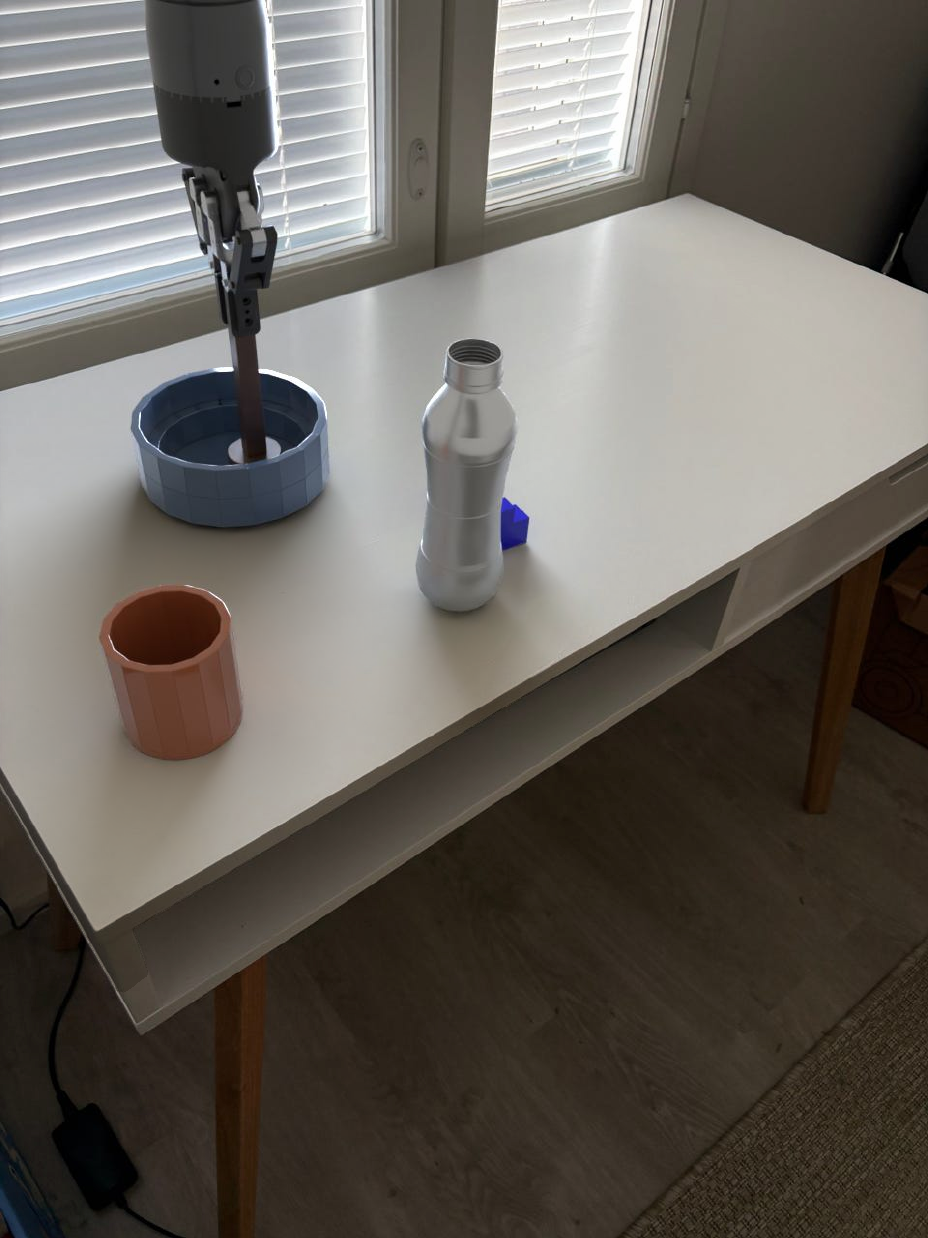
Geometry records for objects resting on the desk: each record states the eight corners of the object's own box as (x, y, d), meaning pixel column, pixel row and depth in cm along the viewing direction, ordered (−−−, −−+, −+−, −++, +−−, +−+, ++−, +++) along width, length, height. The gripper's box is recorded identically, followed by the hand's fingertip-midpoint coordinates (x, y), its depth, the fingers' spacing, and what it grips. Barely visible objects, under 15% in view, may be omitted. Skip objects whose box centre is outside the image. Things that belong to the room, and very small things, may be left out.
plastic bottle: (400, 607, 75) (404, 363, 61) (436, 555, 79) (448, 318, 66) (480, 633, 73) (503, 389, 60) (513, 578, 78) (541, 340, 64)
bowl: (174, 553, 78) (163, 489, 74) (121, 450, 87) (109, 388, 83) (357, 503, 84) (356, 442, 80) (289, 412, 93) (285, 353, 89)
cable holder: (526, 542, 81) (531, 502, 79) (489, 554, 80) (493, 514, 77) (474, 489, 86) (477, 450, 83) (439, 500, 85) (441, 460, 82)
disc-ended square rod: (239, 481, 82) (214, 279, 70) (221, 452, 84) (194, 254, 73) (290, 468, 83) (274, 269, 71) (271, 440, 86) (253, 244, 74)
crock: (141, 776, 62) (118, 688, 57) (110, 694, 67) (86, 605, 62) (259, 735, 65) (248, 647, 60) (221, 659, 70) (207, 571, 64)
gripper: (124, 48, 66) (164, 297, 78) (187, 113, 58) (221, 381, 70) (234, 39, 69) (257, 281, 81) (310, 100, 61) (322, 360, 73)
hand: (240, 326), depth 75 cm, fingers closed on disc-ended square rod
